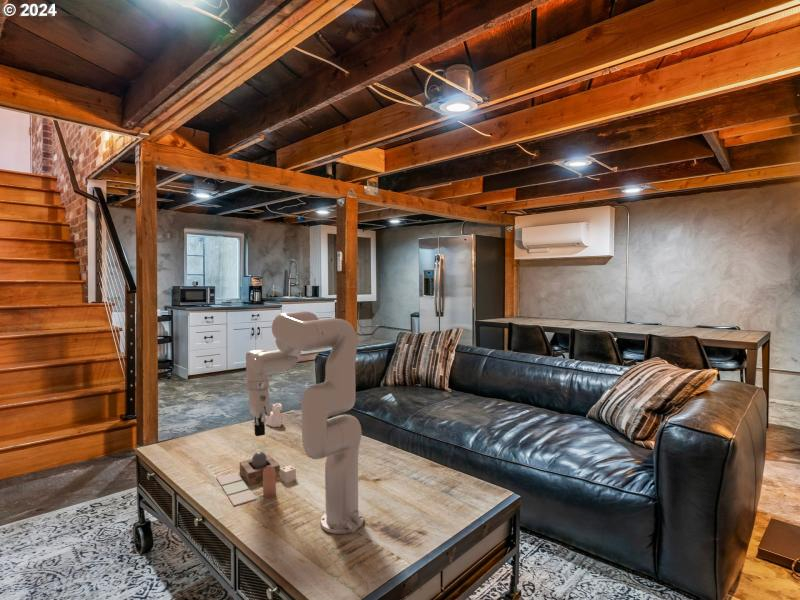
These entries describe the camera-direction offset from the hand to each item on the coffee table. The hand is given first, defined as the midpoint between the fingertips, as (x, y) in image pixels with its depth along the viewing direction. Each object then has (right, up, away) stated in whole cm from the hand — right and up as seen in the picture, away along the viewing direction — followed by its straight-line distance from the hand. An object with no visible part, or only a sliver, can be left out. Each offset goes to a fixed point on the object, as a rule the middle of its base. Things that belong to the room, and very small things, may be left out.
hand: (259, 434), depth 156 cm
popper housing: (-1, -15, +1) cm, 15 cm away
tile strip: (-5, -15, -9) cm, 19 cm away
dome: (-1, -13, +1) cm, 13 cm away
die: (+11, -15, -2) cm, 19 cm away
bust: (-9, -12, +53) cm, 55 cm away
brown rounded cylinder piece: (+7, -16, -13) cm, 22 cm away
